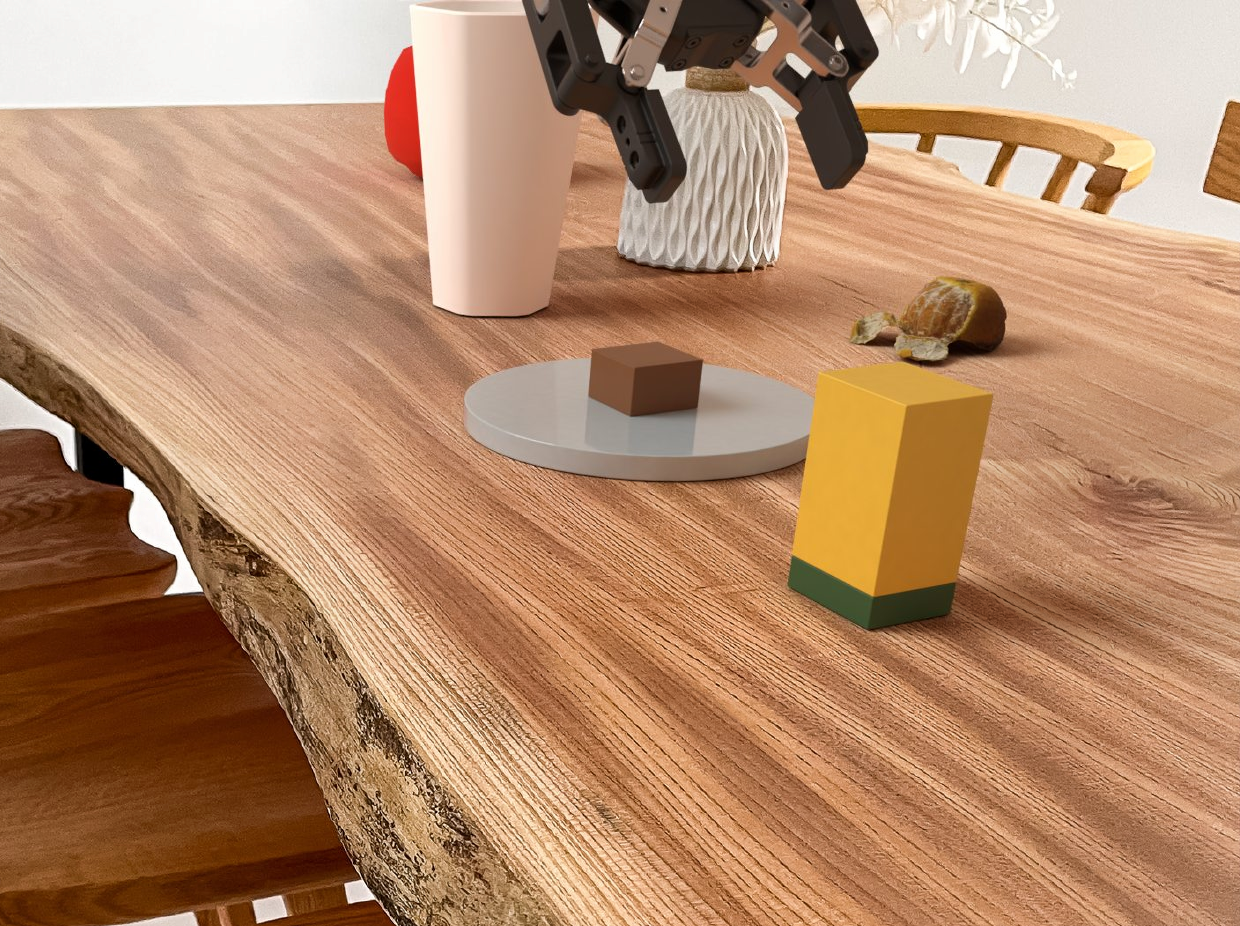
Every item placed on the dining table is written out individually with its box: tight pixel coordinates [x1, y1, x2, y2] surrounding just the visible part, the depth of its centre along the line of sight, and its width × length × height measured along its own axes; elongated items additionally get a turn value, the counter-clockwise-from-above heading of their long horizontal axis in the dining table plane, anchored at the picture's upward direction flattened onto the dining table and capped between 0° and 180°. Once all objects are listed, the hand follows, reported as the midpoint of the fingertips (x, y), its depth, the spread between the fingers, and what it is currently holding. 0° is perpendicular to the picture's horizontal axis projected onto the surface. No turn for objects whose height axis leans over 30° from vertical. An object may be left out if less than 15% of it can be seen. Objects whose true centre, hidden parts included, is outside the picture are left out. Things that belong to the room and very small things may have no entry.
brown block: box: [588, 341, 704, 417], centre depth 88 cm, size 4×4×2 cm
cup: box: [409, 0, 601, 317], centre depth 108 cm, size 11×10×17 cm
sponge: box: [787, 361, 994, 631], centre depth 67 cm, size 5×4×8 cm
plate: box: [462, 357, 815, 482], centre depth 89 cm, size 18×18×1 cm
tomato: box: [383, 44, 423, 180], centre depth 152 cm, size 14×13×10 cm
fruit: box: [849, 276, 1008, 362], centre depth 103 cm, size 8×8×4 cm
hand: (760, 183), depth 70 cm, fingers open, 8 cm apart
